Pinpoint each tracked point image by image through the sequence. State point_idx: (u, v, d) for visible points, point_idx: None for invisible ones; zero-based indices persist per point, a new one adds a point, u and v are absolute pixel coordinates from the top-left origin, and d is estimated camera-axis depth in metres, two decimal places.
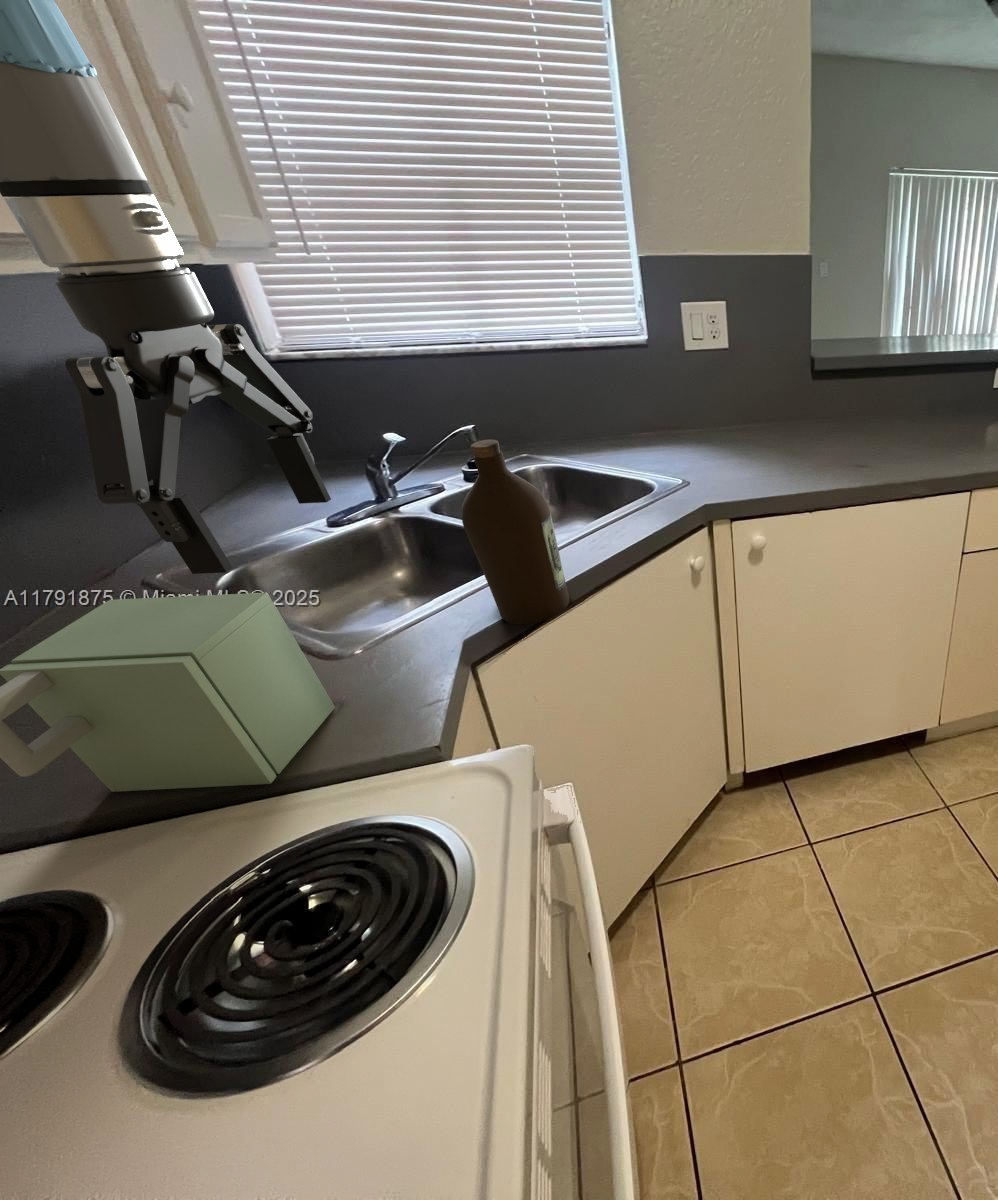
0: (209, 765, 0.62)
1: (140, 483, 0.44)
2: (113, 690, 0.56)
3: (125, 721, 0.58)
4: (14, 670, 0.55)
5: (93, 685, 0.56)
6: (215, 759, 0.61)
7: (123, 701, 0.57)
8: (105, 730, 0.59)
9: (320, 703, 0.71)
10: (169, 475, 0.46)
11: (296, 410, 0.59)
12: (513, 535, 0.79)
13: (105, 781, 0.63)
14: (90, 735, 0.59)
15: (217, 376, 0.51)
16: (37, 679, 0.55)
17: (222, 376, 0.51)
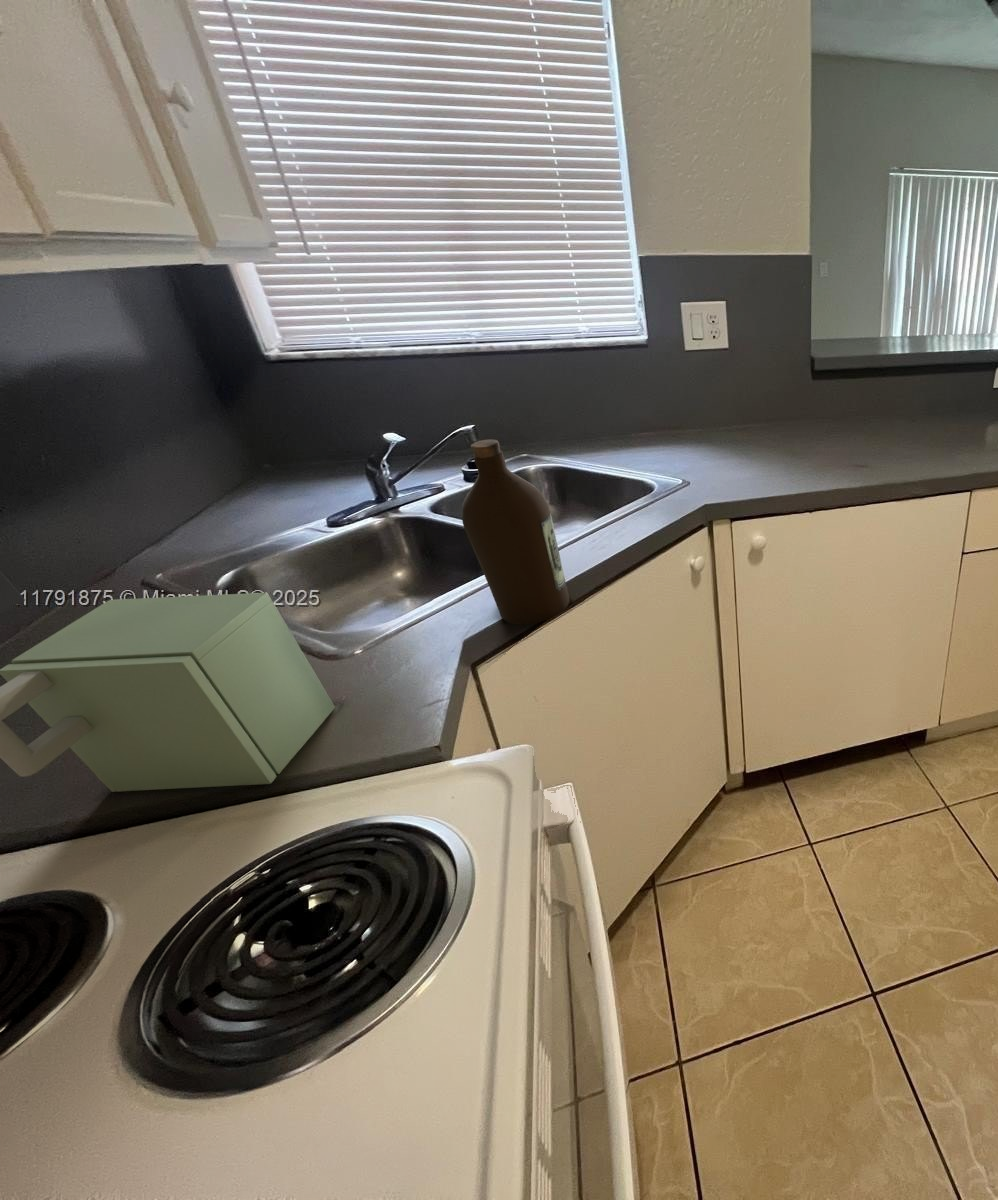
0: (209, 765, 0.62)
1: None
2: (113, 690, 0.56)
3: (125, 721, 0.58)
4: (14, 670, 0.55)
5: (93, 685, 0.56)
6: (215, 759, 0.61)
7: (123, 701, 0.57)
8: (105, 730, 0.59)
9: (320, 703, 0.71)
10: None
11: None
12: (513, 535, 0.79)
13: (105, 781, 0.63)
14: (90, 735, 0.59)
15: None
16: (37, 679, 0.55)
17: None
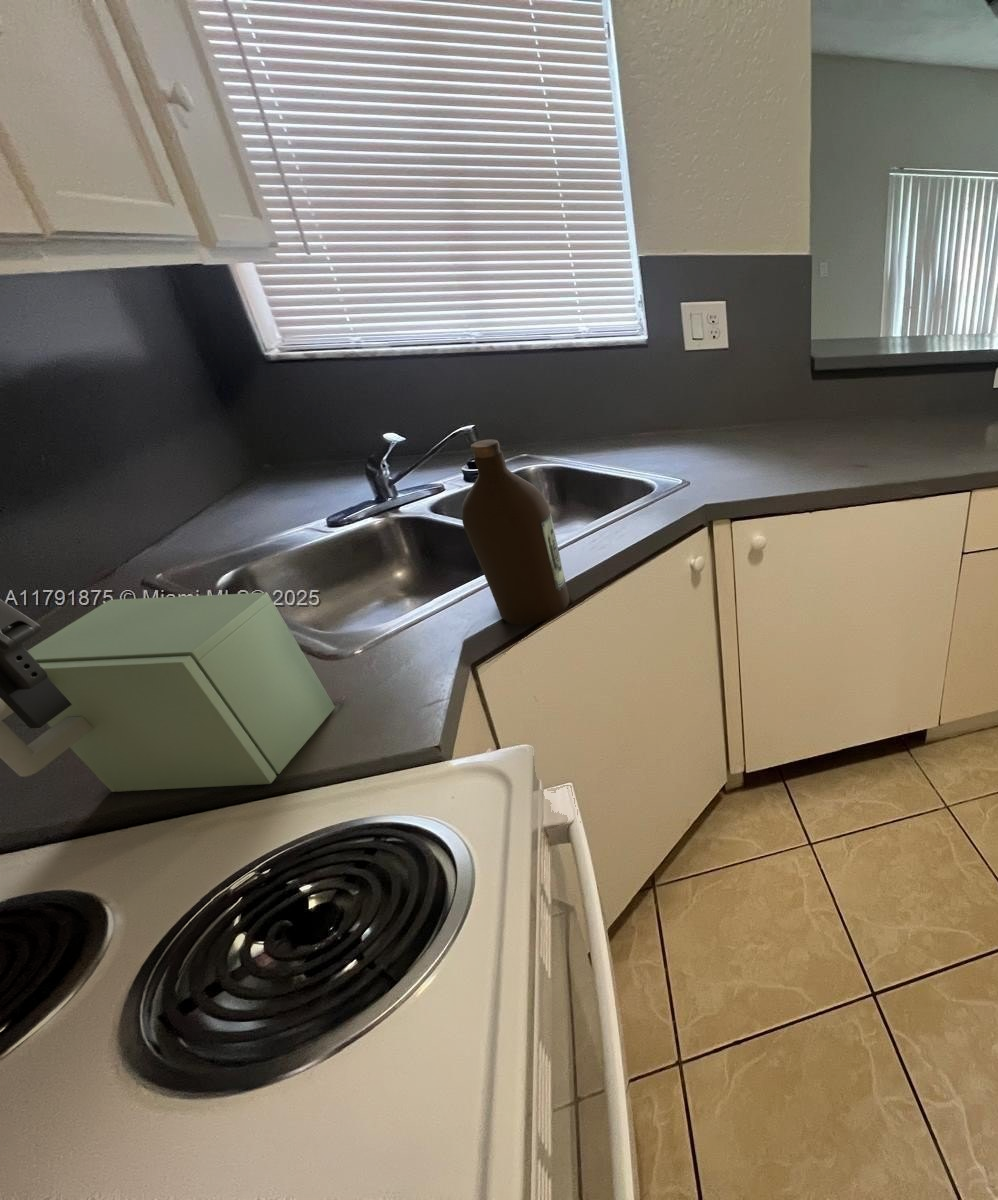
0: (209, 765, 0.62)
1: None
2: (113, 690, 0.56)
3: (125, 721, 0.58)
4: None
5: (93, 685, 0.56)
6: (215, 759, 0.61)
7: (123, 701, 0.57)
8: (105, 730, 0.59)
9: (320, 703, 0.71)
10: None
11: None
12: (513, 535, 0.79)
13: (105, 781, 0.63)
14: (90, 735, 0.59)
15: None
16: None
17: None
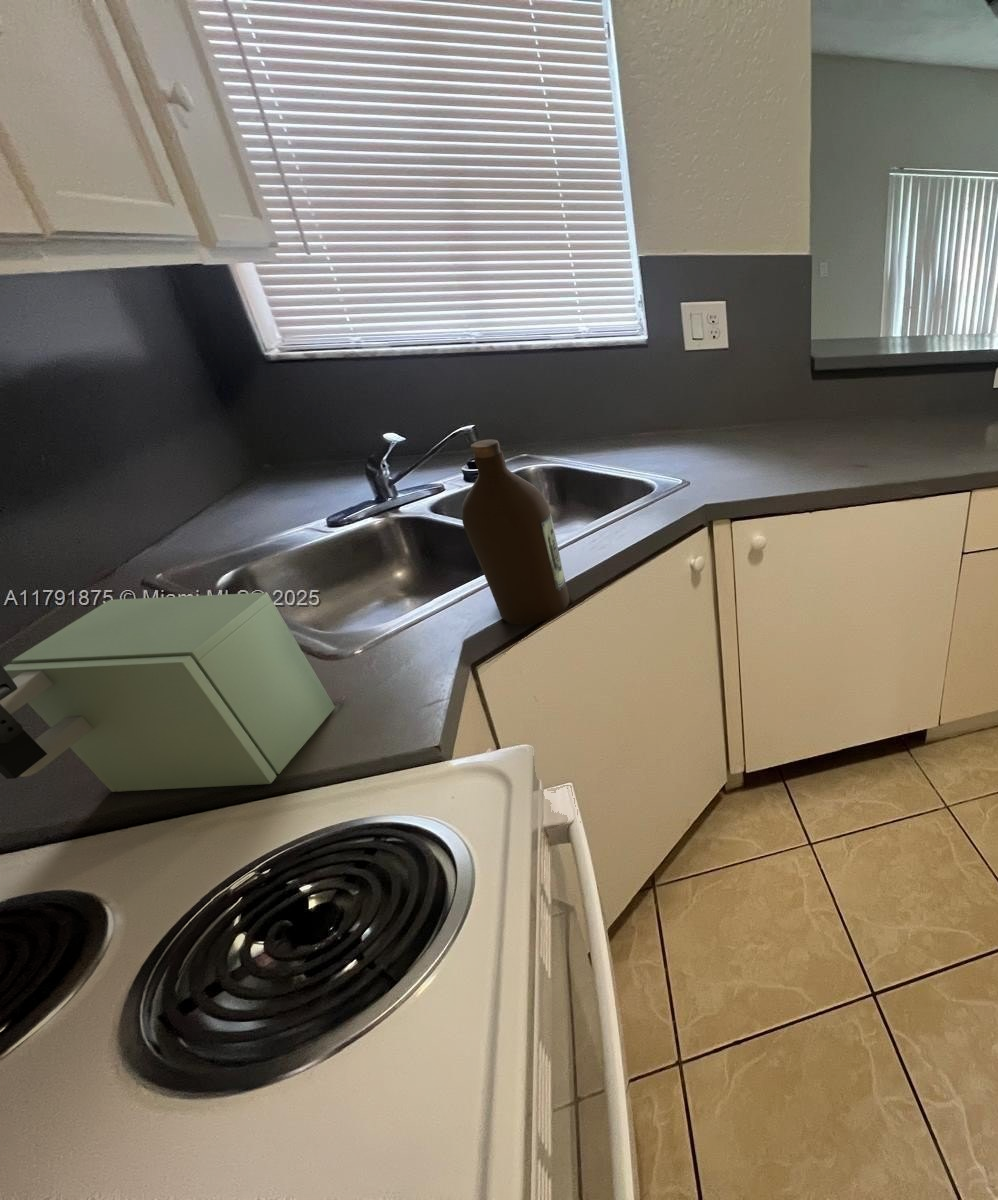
0: (209, 765, 0.62)
1: None
2: (113, 690, 0.56)
3: (125, 721, 0.58)
4: (14, 670, 0.55)
5: (93, 685, 0.56)
6: (215, 759, 0.61)
7: (123, 701, 0.57)
8: (105, 730, 0.59)
9: (320, 703, 0.71)
10: None
11: None
12: (513, 535, 0.79)
13: (105, 781, 0.63)
14: (90, 735, 0.59)
15: None
16: (37, 679, 0.55)
17: None
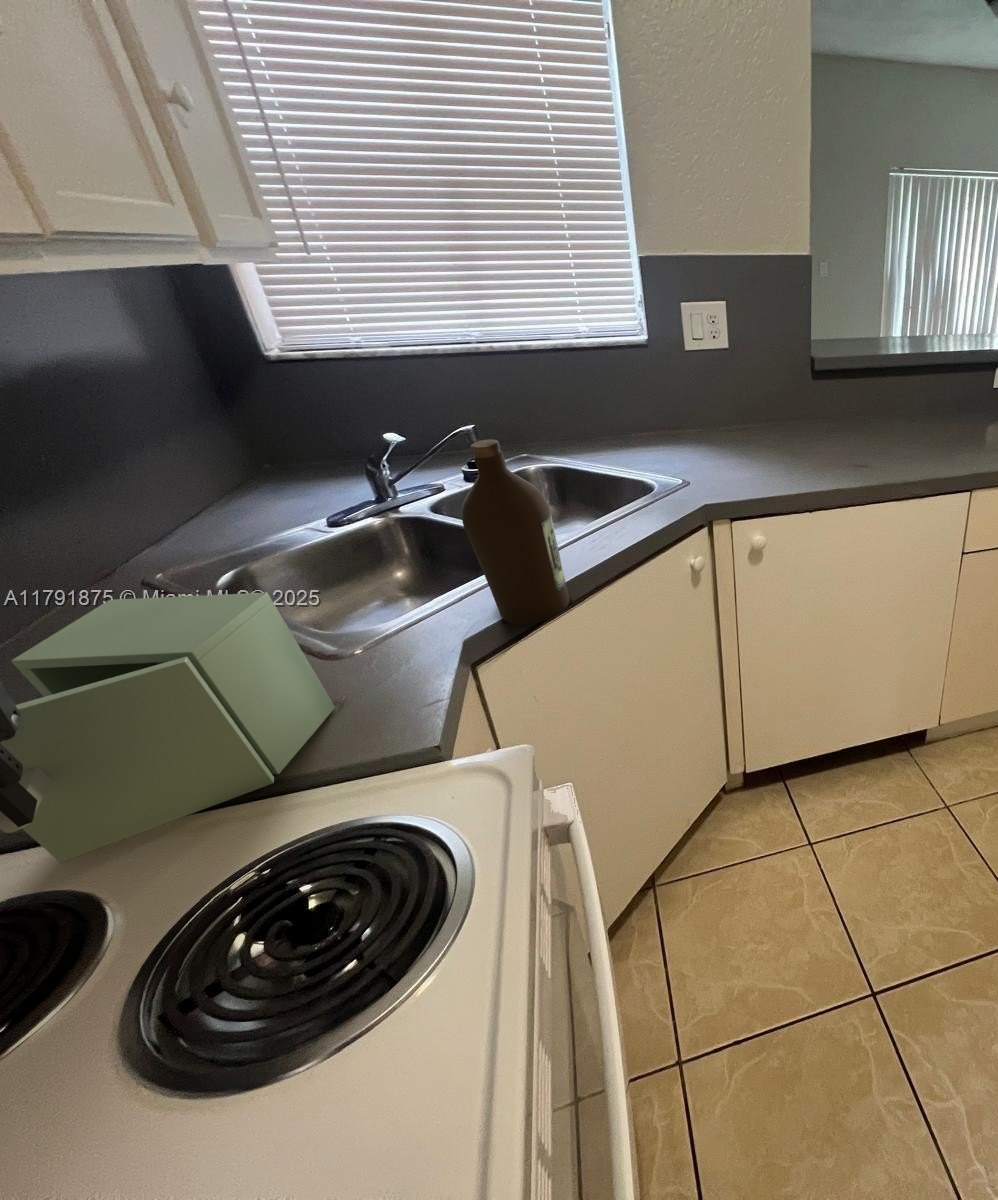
0: (200, 783, 0.60)
1: None
2: (89, 719, 0.53)
3: (99, 757, 0.55)
4: None
5: (62, 721, 0.52)
6: (209, 772, 0.60)
7: (100, 731, 0.54)
8: (68, 777, 0.54)
9: (320, 703, 0.71)
10: None
11: None
12: (513, 535, 0.79)
13: (53, 850, 0.56)
14: (45, 790, 0.54)
15: None
16: None
17: None
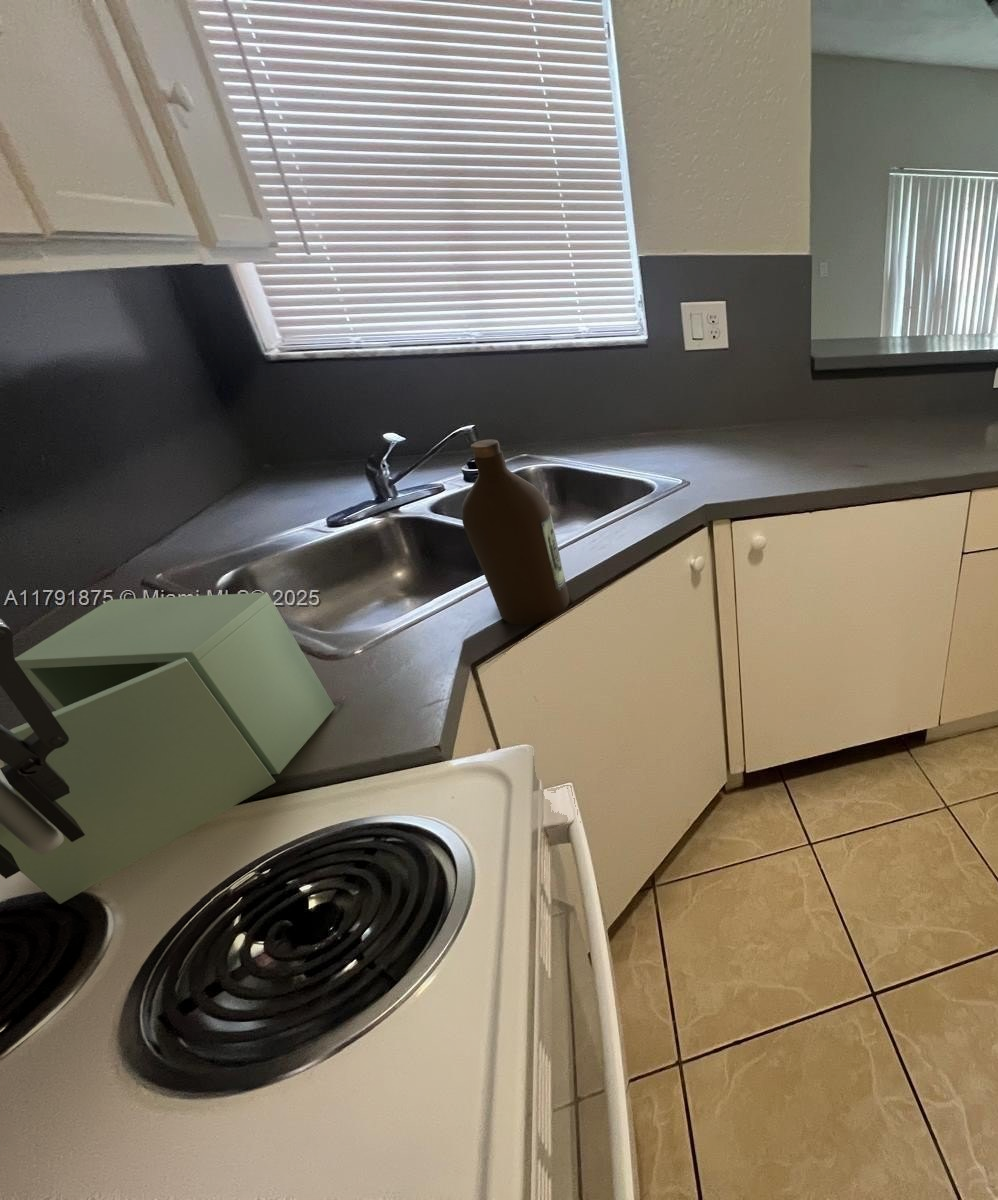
0: (204, 791, 0.59)
1: None
2: (92, 734, 0.52)
3: (101, 776, 0.53)
4: None
5: None
6: (213, 779, 0.59)
7: (103, 746, 0.52)
8: (69, 803, 0.52)
9: (320, 703, 0.71)
10: None
11: None
12: (513, 535, 0.79)
13: (53, 890, 0.53)
14: None
15: None
16: None
17: None
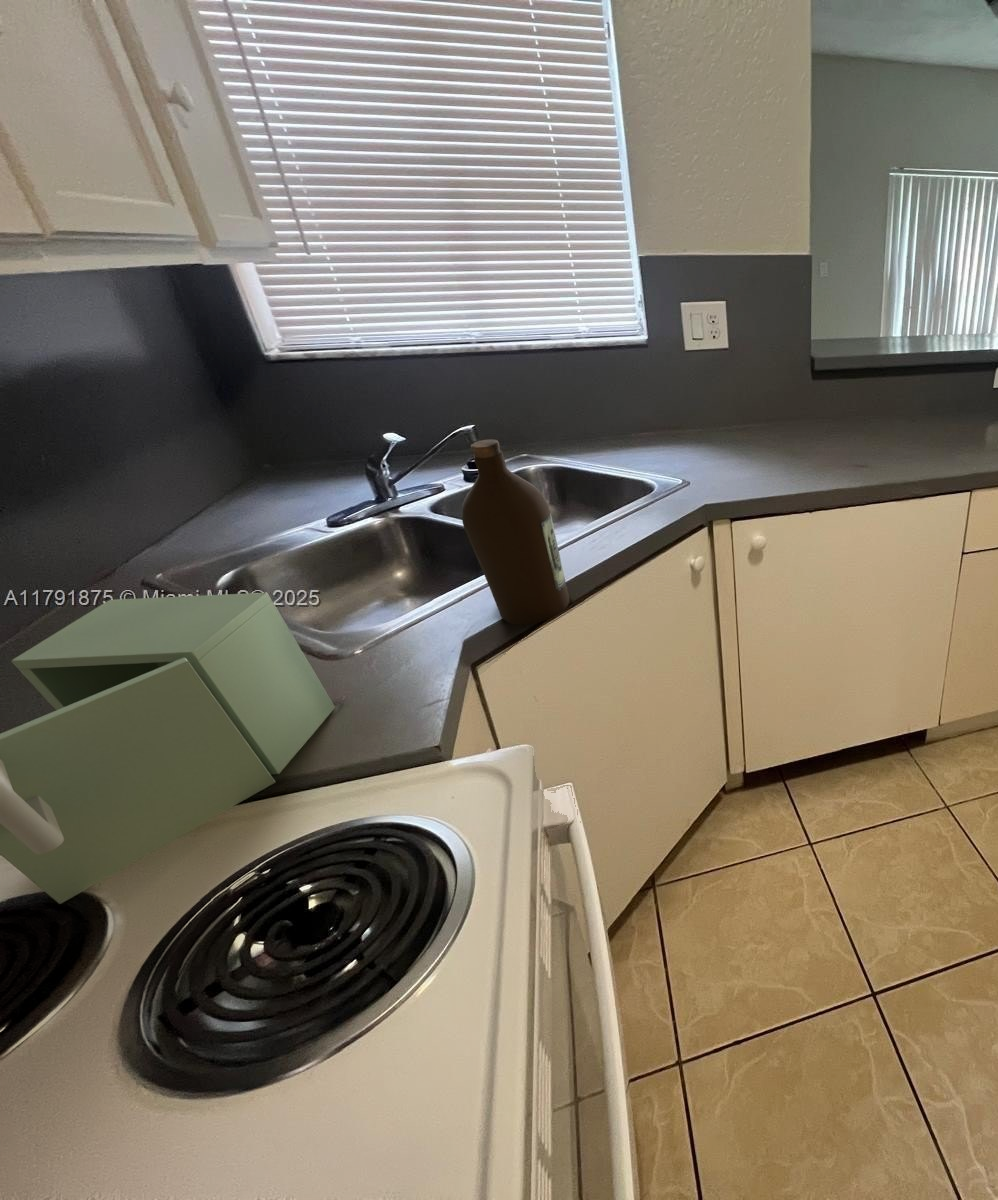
0: (204, 791, 0.59)
1: None
2: (92, 734, 0.52)
3: (101, 776, 0.53)
4: None
5: (64, 739, 0.50)
6: (213, 779, 0.59)
7: (103, 746, 0.52)
8: (69, 803, 0.52)
9: (320, 703, 0.71)
10: None
11: None
12: (513, 535, 0.79)
13: (53, 890, 0.53)
14: None
15: None
16: None
17: None
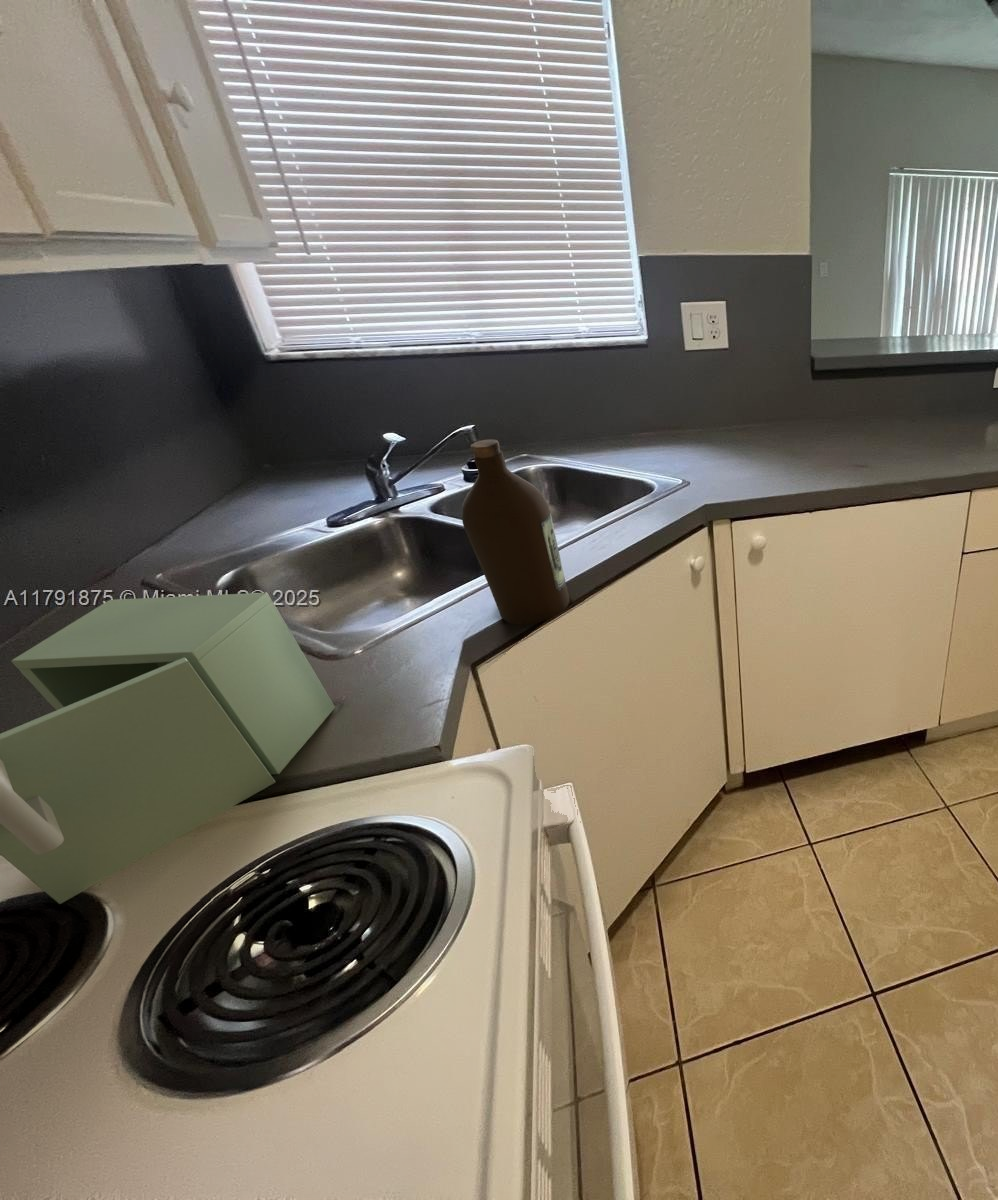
0: (204, 791, 0.59)
1: None
2: (92, 734, 0.52)
3: (101, 776, 0.53)
4: None
5: (64, 739, 0.50)
6: (213, 779, 0.59)
7: (103, 746, 0.52)
8: (69, 803, 0.52)
9: (320, 703, 0.71)
10: None
11: None
12: (513, 535, 0.79)
13: (53, 890, 0.53)
14: None
15: None
16: None
17: None
